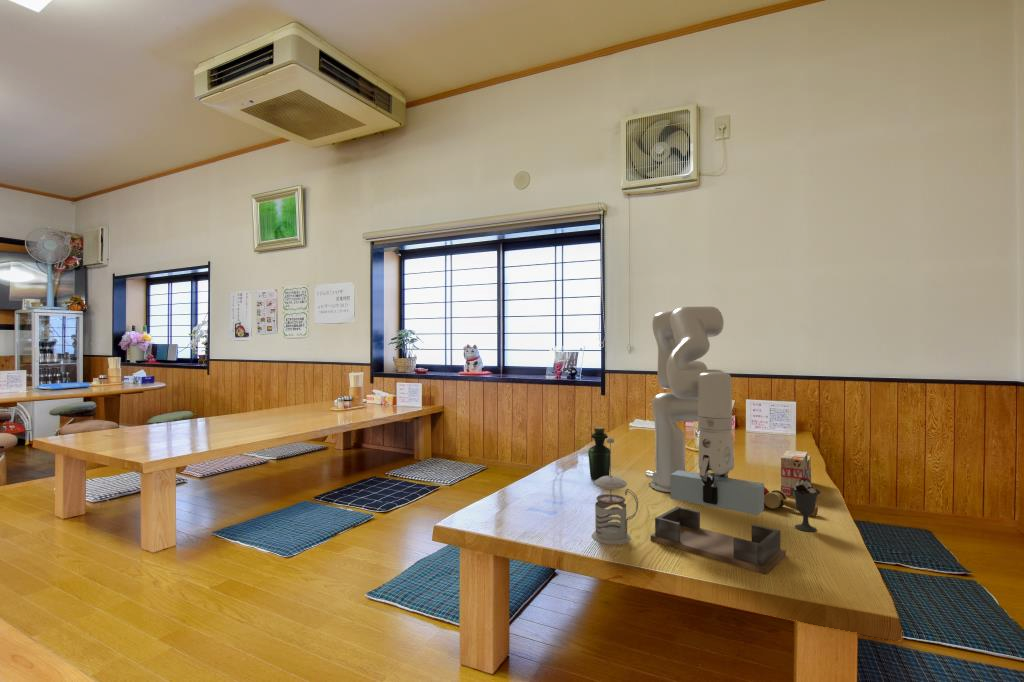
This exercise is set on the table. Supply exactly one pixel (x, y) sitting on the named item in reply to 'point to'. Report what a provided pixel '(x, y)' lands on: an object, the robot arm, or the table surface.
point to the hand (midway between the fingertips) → (715, 499)
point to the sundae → (805, 502)
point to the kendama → (780, 500)
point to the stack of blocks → (794, 470)
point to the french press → (611, 511)
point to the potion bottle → (599, 455)
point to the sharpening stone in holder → (719, 541)
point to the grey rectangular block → (719, 492)
